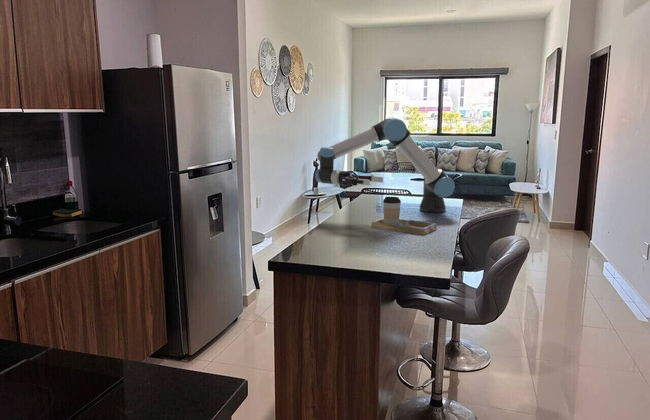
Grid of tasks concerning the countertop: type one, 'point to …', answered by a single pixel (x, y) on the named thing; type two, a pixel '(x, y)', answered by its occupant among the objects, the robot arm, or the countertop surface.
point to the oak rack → (407, 226)
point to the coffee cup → (391, 210)
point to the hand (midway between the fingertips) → (376, 181)
